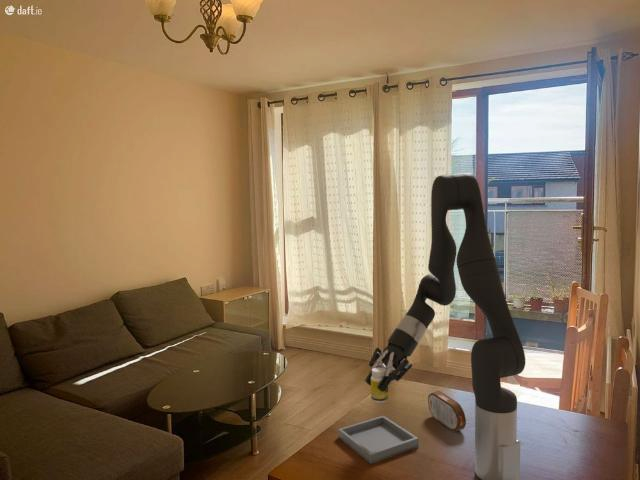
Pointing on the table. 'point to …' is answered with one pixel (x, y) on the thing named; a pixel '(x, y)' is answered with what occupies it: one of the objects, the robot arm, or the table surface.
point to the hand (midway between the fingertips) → (374, 386)
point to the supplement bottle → (375, 380)
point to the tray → (378, 439)
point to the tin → (446, 411)
